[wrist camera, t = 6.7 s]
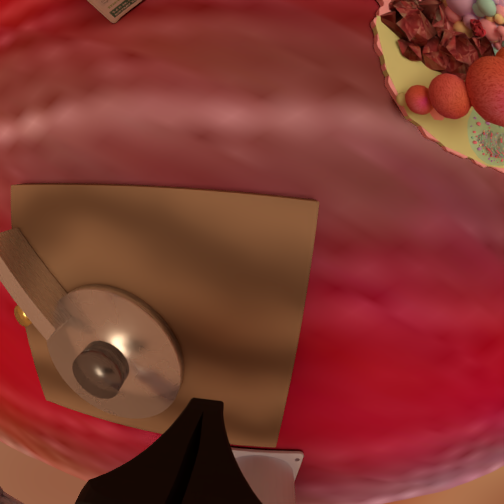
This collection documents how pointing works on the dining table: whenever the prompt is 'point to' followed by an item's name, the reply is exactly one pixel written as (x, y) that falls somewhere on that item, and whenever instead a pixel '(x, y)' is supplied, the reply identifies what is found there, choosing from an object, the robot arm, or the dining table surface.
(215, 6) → the dining table surface
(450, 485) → the dining table surface
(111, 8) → the syrup box
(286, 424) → the dining table surface
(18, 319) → the gold metal knob
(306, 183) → the dining table surface
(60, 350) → the lever handle
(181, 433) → the robot arm
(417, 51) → the candy landscape model
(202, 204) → the base board
